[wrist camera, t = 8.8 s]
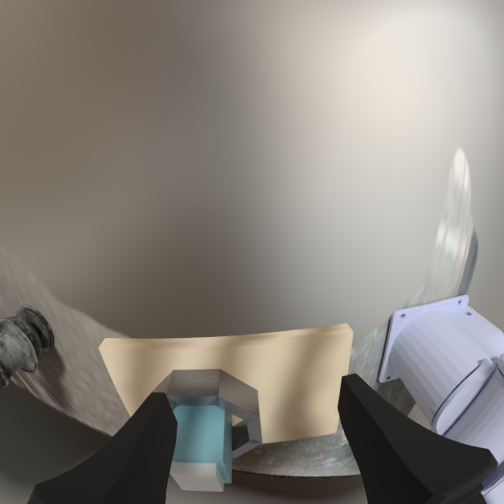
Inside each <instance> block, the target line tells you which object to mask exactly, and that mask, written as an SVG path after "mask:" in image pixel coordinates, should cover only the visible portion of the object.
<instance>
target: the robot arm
mask: <svg viewBox="0 0 504 504" xmlns="http://www.w3.org/2000/svg"><path fill="white" fill-rule="evenodd" d="M468 301H469V297H468V296H467V295H462V296H458V297H454V298H450V299H446V300H442V301H438V302H434V303H430V304H425V305H421V306H416V307H411V308H407V309H402V310H397V311H395V312H394V313H393V314H392V316H391V322H390V327H389V333H388V338H387V343H386V348H385V353H384V357H383V362H382V366H381V370H380V374H379V378H378V380H379V381H380V383H384V382H388V381H391V380H395V379H398V378H400V379H401V381H402V382H403V384H404V385H405V387H406V388H407V390H408V391H409V393H410V394H411V396H412V397H413V399H414V400H415V402H416V403H417V405H418V406H419V408H420V410H421V411H422V412H423V414H424V416H425V417H426V419H427V420H428V422H429V424H430V425H431V427H432V428H431V430H428V429H426V428H424V427H423V426H421V425H419V424H418V423H416V422H414V421H413V420H411V419H410V418H408V417H407V416H405V415H404V414H403V413H401V412H400V411H398V410H397V409H396V408H395V407H393V406H392V405H391V404H390V403H388V402H387V401H386V400H385V399H383V398H382V397H381V396H380V395H379V394H378V393H377V392H375V391H374V390H373V389H372V388H371V387H370V386H369V385H368V384H367V383H366V382H365V381H364V380H363V379H362V378H361V377H359V376H358V375H357V374H356V373H355V374H350V375H345V376H342V378H341V386H340V393H339V400H338V406H337V409H338V413H339V417H340V420H341V424H342V428H343V430H344V433H345V435H346V438H347V440H348V442H349V445H350V447H351V450H352V452H353V455H354V457H355V459H356V462H357V464H358V467H359V470H360V473H361V476H362V479H363V484H364V487H365V492H366V496H367V500H368V504H504V334H503V333H502V332H501V331H500V330H499V329H498V328H496V327H495V326H494V325H493V324H492V323H490V322H489V321H488V320H486V319H485V318H484V317H482V316H481V315H480V314H478V313H477V312H476V311H474V310H473V309H472V308H470V307H469V306H468ZM402 314H403V316H402V317H401V315H402ZM177 426H178V422H177V419H176V417H175V415H174V413H173V410H172V408H171V406H170V403H169V401H168V399H167V396H166V394H165V392H151V393H150V394H149V396H148V397H147V398H146V399H145V401H144V402H143V403H142V404H141V405H140V407H139V408H138V409H137V410H136V412H135V413H134V414H133V415H132V416H131V418H130V419H129V420H128V421H127V422H126V423H125V424H124V426H123V427H122V428H121V429H120V430H119V431H118V432H117V433H116V434H115V435H114V436H113V437H112V438H111V439H110V440H109V442H107V443H106V444H105V445H104V446H103V447H102V448H100V449H99V450H98V451H97V452H96V453H94V454H93V455H92V456H91V457H89V458H88V459H87V460H85V461H83V462H82V463H80V464H79V465H77V466H76V467H74V468H72V469H71V470H69V471H67V472H65V473H63V474H61V475H59V476H57V477H55V478H52V479H50V480H47V481H44V482H42V483H39V484H36V485H35V487H34V489H33V492H32V494H31V496H30V499H29V501H28V503H27V504H165V500H166V489H167V482H168V478H169V473H170V468H171V464H172V459H173V455H174V450H175V446H176V439H177Z"/></svg>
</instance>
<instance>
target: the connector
mask: <svg viewBox="0 0 504 504" xmlns="http://www.w3.org/2000/svg"><path fill="white" fill-rule="evenodd" d="M173 413H174V415H175V417H176V419H177V422H178V426H177V439H176V446H175V450H174V455H173V459H172V464H171V468H170V474H171V475H172V476H173V478H174V479H175V481H176V482H177V483H178V485H179V486H180V488H181V489H182V490H193V491H194V490H195V491H223V487H224V483H232V415H231V414H230V413H228V412H226V411H224V410H222V409H220V408H218V407H216V406H214V405H213V406H184V405H174V409H173Z"/></svg>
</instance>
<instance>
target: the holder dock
mask: <svg viewBox="0 0 504 504" xmlns="http://www.w3.org/2000/svg"><path fill="white" fill-rule="evenodd" d="M352 340H353V331H352V330H351V328H350V327H349V325H348V324H347V323H343V324H337V325H331V326H323V327H316V328H308V329H301V330H292V331H283V332H273V333H262V334H252V335H240V336H239V335H238V336H223V337H204V338H176V339H119V338H105V339H104V341H103V342H102V344H101V345H100V346H99V350H100V353H101V355H102V358H103V360H104V362H105V365H106V367H107V369H108V372H109V374H110V376H111V378H112V380H113V383H114V385H115V387H116V389H117V391H118V393H119V395H120V397H121V399H122V401H123V403H124V405H125V407H126V409H127V411H128V413H129V415H130V416H132V415H133V414H134V413H135V412H136V410H137V409H138V408H139V407H140V405H141V404H142V403H143V402H144V401H145V399H146V398H147V397H148V396H149V394H150V393H151V392H165V394H166V396H167V399H168V401H169V403H170V406H171V408H172V410H173V409H174V405H184V406H213V405H214V406H216V407H218V408H220V409H222V410H224V411H226V412H228V413H230V414H231V415H232V459H235V458H237V457H239V456H241V455H242V454H244V453H246V452H248V451H249V450H251V449H253V448H255V447H256V446H258V445H260V444H263V443H274V442H283V441H291V440H298V439H305V438H311V437H317V436H322V435H327V434H332V433H336V430H337V426H338V421H339V413H338V409H337V406H338V400H339V393H340V386H341V378H342V376H345V375H347V374H348V368H349V362H350V355H351V348H352Z"/></svg>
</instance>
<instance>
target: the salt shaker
mask: <svg viewBox="0 0 504 504" xmlns="http://www.w3.org/2000/svg"><path fill="white" fill-rule="evenodd" d="M53 345H54V336H53V333H52V330H51V328H50V326H49V324H48V322H47V321H46V319H45V318H44V317H43V315H42V314H41V313H40V312H39V311H37V310H36V309H35V308H33V307H32V306H29V305H22V306H21V307H19V308H18V310H17V315H16V316H14V317H7V318H0V387H1V386H4V387H7V386H8V385H9V380H8V379H9V378H10V377H11V376H12V375H13V374H14V372H15V371H17V370H18V369H21V370H23V371H25V372H28V373H34V372H36V371H37V370H38V368H39V362H40V360H41V356H42V351H49V350H51V349H52V347H53Z"/></svg>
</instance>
